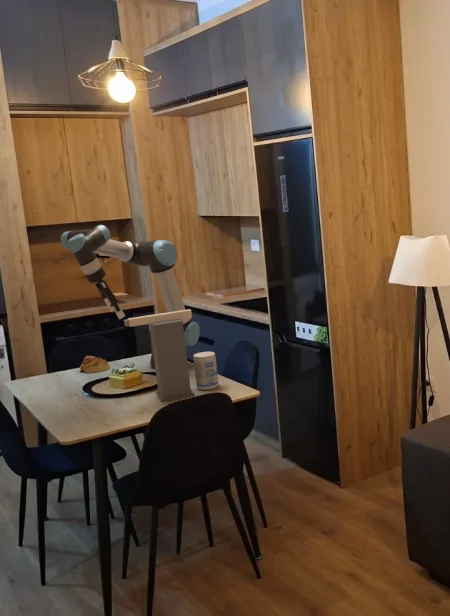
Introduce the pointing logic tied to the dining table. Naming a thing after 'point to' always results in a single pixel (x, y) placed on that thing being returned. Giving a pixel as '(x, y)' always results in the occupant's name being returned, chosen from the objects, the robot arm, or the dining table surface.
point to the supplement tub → (205, 370)
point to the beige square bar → (158, 318)
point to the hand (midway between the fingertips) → (118, 314)
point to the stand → (170, 360)
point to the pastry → (94, 365)
